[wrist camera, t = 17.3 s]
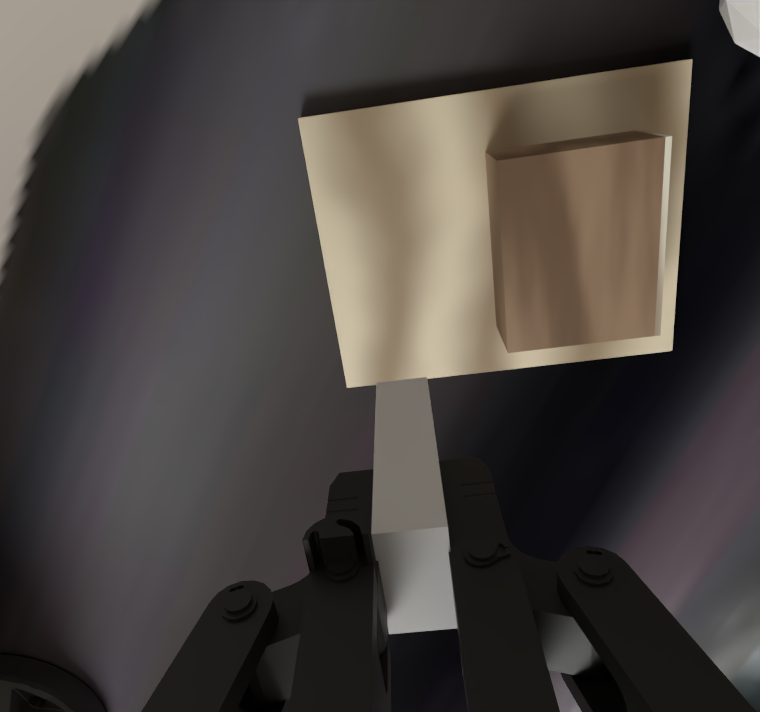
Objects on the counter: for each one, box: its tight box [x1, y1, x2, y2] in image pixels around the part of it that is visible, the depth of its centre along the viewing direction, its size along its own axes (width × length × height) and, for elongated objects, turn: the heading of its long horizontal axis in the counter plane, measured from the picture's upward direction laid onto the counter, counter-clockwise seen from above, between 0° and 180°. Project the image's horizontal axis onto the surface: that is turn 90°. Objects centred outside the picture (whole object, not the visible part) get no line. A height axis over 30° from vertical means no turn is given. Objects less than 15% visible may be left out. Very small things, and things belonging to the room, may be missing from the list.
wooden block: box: [485, 130, 672, 353], centre depth 32 cm, size 4×10×8 cm
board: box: [298, 59, 693, 388], centre depth 34 cm, size 20×16×1 cm
